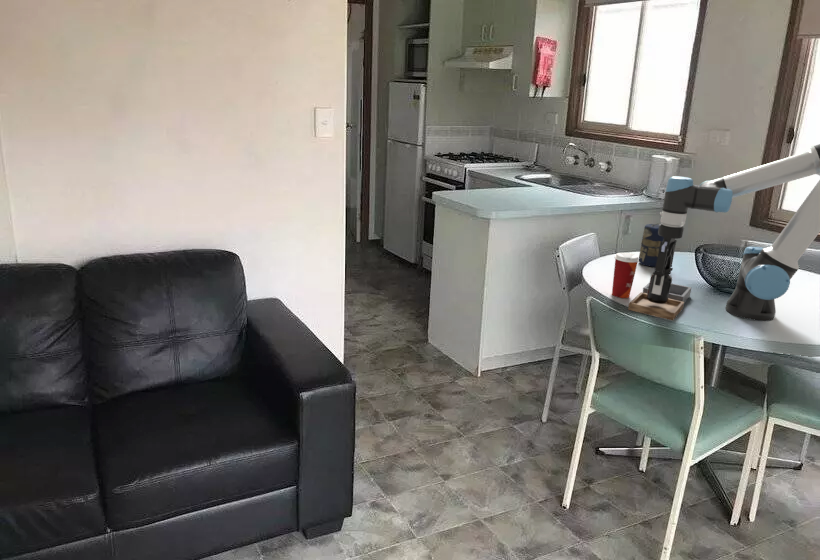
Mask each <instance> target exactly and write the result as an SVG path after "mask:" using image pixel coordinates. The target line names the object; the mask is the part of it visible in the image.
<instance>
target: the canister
mask: <svg viewBox="0 0 820 560" xmlns="http://www.w3.org/2000/svg"><path fill="white" fill-rule="evenodd" d="M660 224H661V223H647V224H645V225H644V228H643V232H642V233H643V234H642V238H641V242H640V249H639V255H638V259H639V262H638V263H639V264H640V265H643V266H647V267H652V268H654V267H656V263H657V258H658V253H659V246H660V244H661V241H662V242H663V239H664V237H663V236H660V235H658V230H659V225H660Z"/></svg>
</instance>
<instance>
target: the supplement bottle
mask: <svg viewBox="0 0 820 560" xmlns="http://www.w3.org/2000/svg"><path fill="white" fill-rule="evenodd" d="M671 268H672V267H671ZM671 268H670V267H668V266H666V268H665V272H664V280H663V285H662V291H661V295H658V294H653V293H652V290H653V284H654V279H655V275H653V273H652V274H651V275H650V279H649V282H648V283H649V288H648V292H647V300H648V301H650V302H653V303H657V304H665V303H667V301H668V297H669V293H670V288H671V283H673V277H672V276H671V274H672V273H671ZM659 272H660V271H659Z"/></svg>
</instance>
